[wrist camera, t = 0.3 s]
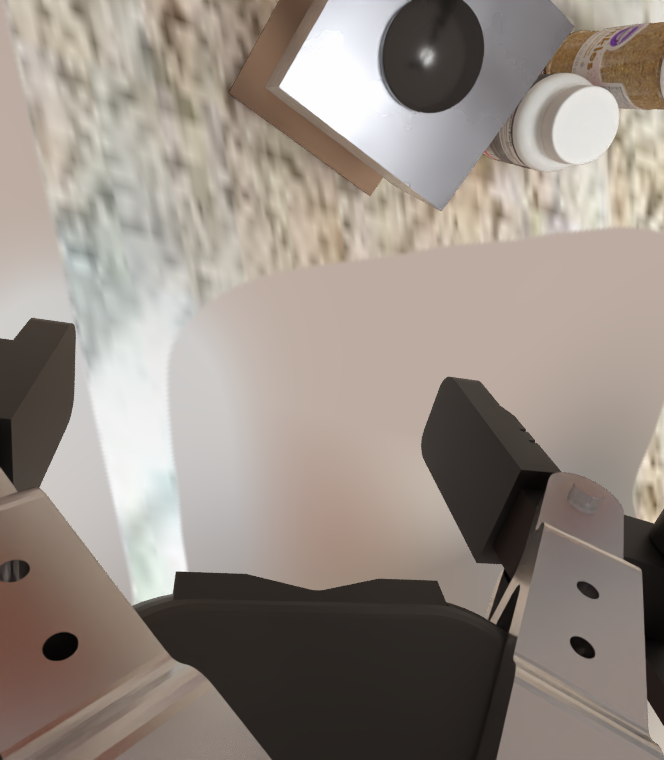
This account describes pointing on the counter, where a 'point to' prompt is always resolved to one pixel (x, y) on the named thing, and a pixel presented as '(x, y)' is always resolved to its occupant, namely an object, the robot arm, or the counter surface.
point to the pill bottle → (557, 125)
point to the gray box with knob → (417, 80)
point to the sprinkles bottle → (618, 62)
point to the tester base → (283, 116)
